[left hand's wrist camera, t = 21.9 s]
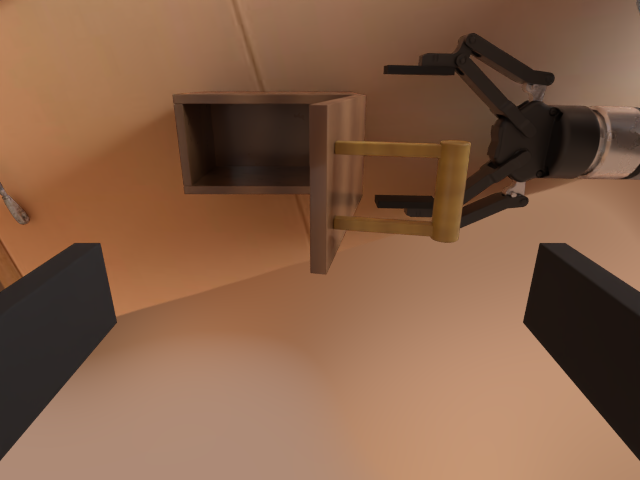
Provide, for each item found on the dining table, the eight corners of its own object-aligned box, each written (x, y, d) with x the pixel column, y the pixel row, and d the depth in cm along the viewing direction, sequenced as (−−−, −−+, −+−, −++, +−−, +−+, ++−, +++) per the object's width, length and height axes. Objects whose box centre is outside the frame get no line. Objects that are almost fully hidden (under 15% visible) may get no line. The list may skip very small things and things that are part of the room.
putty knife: (27, 223, 53) (18, 227, 51) (-16, 167, 50) (-27, 170, 49) (33, 220, 53) (24, 224, 51) (-10, 164, 50) (-20, 167, 49)
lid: (310, 273, 24) (458, 287, 22) (309, 104, 20) (483, 106, 19) (352, 195, 40) (439, 200, 38) (355, 94, 37) (451, 95, 35)
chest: (211, 171, 51) (184, 194, 40) (204, 91, 47) (172, 94, 37) (349, 171, 51) (357, 194, 40) (351, 91, 47) (360, 94, 37)
